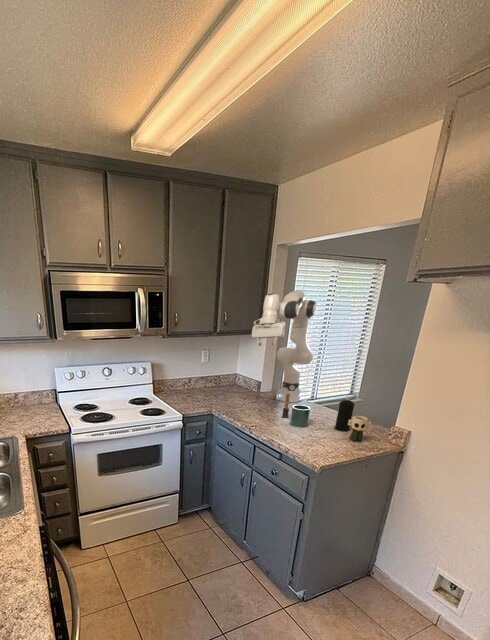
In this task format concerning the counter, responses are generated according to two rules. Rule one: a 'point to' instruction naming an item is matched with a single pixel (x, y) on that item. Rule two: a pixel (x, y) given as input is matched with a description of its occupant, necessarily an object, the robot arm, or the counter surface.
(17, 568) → the counter surface
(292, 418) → the green cup
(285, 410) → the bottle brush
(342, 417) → the aerosol can
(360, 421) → the cartoon character figurine
